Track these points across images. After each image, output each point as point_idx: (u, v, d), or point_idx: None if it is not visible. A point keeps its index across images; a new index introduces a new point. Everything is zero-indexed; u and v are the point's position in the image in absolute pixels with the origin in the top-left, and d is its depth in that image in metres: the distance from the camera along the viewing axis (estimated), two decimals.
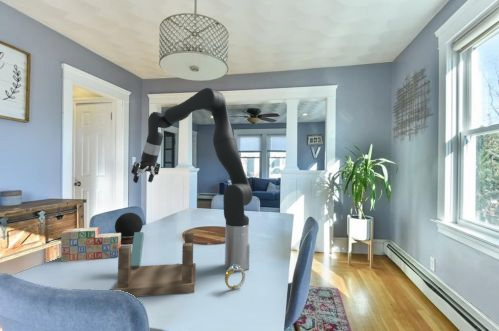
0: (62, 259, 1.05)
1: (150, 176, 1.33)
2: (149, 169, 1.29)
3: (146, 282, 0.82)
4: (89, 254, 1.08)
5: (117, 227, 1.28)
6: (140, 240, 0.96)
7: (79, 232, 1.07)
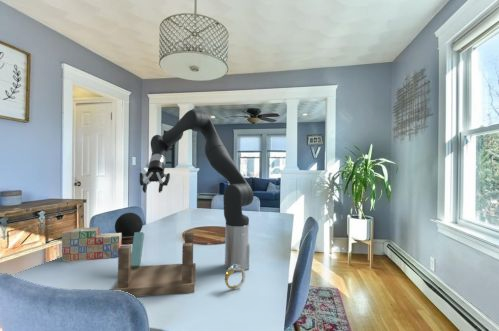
0: (63, 259, 1.05)
1: None
2: (155, 176, 1.20)
3: (146, 282, 0.82)
4: (90, 254, 1.08)
5: (117, 227, 1.28)
6: (140, 240, 0.96)
7: (80, 232, 1.07)
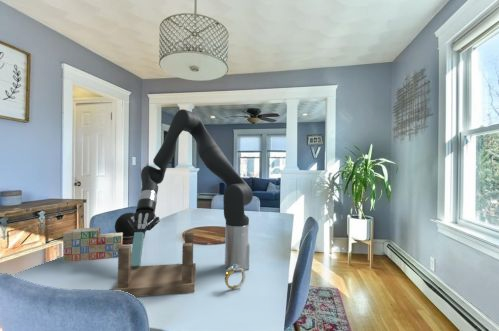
0: (64, 260, 1.04)
1: None
2: (143, 217, 1.05)
3: (146, 282, 0.82)
4: (92, 254, 1.08)
5: (117, 227, 1.28)
6: (140, 240, 0.96)
7: (82, 232, 1.06)
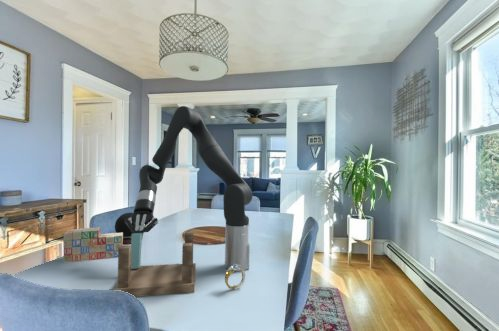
0: (64, 260, 1.04)
1: None
2: (141, 218, 1.02)
3: (146, 282, 0.82)
4: (92, 254, 1.08)
5: (117, 227, 1.28)
6: (138, 242, 0.93)
7: (82, 232, 1.06)
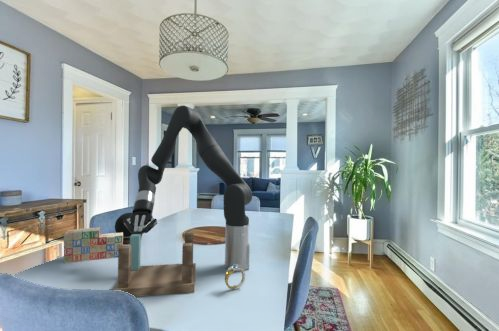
0: (65, 260, 1.04)
1: None
2: (140, 219, 1.00)
3: (146, 282, 0.82)
4: (93, 254, 1.07)
5: (117, 227, 1.28)
6: (137, 245, 0.92)
7: (82, 233, 1.06)
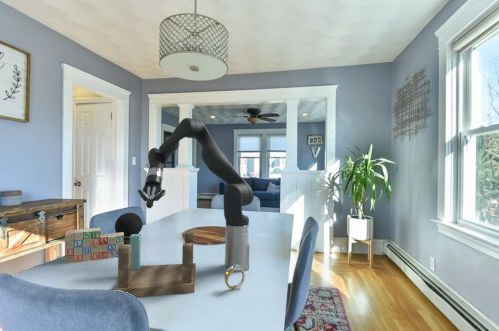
0: (66, 261, 1.03)
1: None
2: (151, 190, 1.22)
3: (146, 282, 0.82)
4: (94, 254, 1.07)
5: (117, 227, 1.28)
6: (137, 245, 0.92)
7: (84, 233, 1.06)
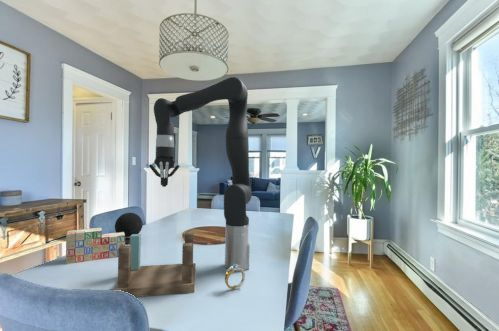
0: (67, 262, 1.02)
1: None
2: (164, 165, 1.09)
3: (146, 282, 0.82)
4: (96, 255, 1.07)
5: (117, 227, 1.28)
6: (137, 245, 0.92)
7: (85, 233, 1.05)
